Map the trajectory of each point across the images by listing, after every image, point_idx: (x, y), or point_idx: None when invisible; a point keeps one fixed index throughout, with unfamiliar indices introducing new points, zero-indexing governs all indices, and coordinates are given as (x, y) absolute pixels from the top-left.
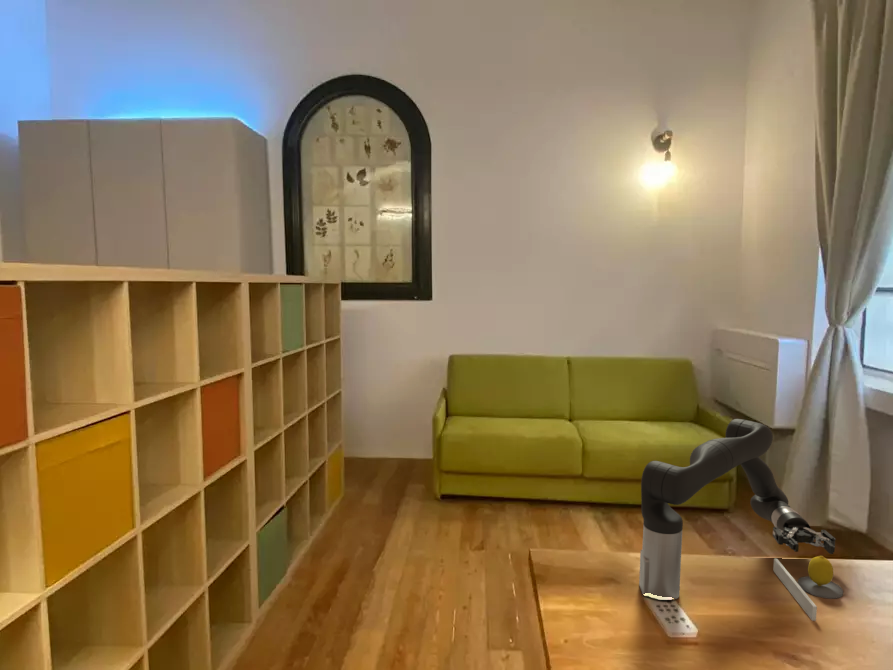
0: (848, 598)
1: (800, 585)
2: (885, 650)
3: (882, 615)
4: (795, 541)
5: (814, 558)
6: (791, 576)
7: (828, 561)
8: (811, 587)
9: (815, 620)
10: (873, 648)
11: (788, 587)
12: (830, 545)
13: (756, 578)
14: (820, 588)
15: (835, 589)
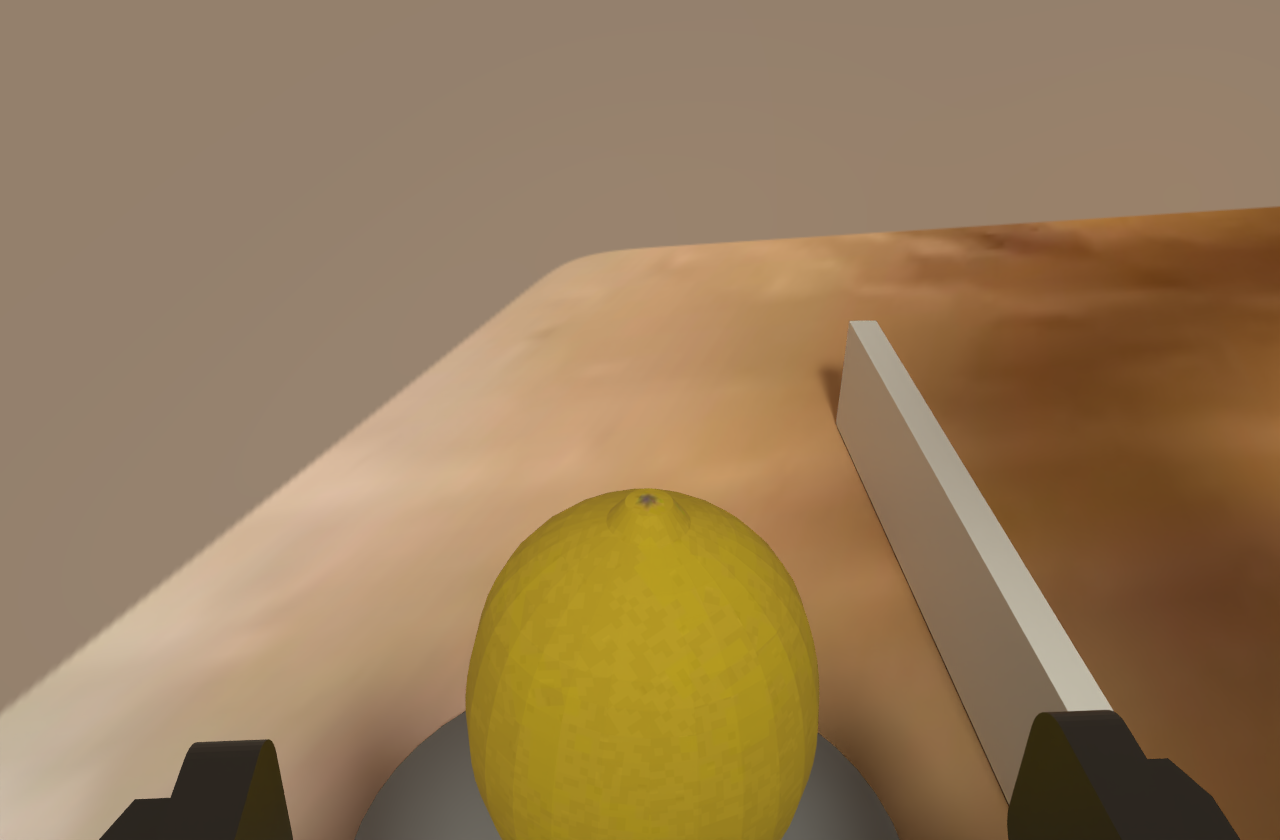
0: (381, 729)
1: (889, 833)
2: (517, 298)
3: (248, 534)
4: (1132, 829)
5: (755, 556)
6: (1043, 656)
7: (555, 518)
8: None
9: (838, 420)
10: (575, 301)
11: None
12: (241, 768)
13: None
14: None
15: (455, 820)
